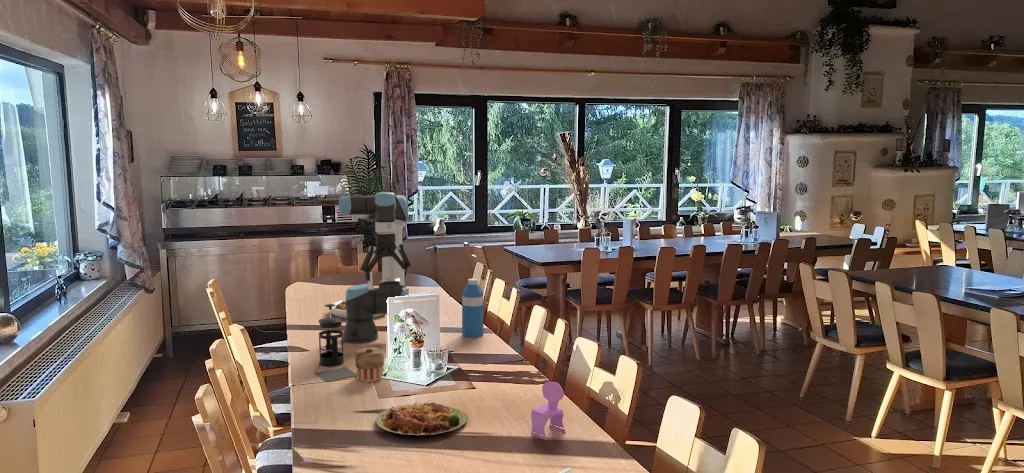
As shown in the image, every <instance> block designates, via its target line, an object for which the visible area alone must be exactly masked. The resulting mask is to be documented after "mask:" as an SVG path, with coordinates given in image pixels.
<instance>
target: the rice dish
mask: <svg viewBox="0 0 1024 473" xmlns="http://www.w3.org/2000/svg"><path fill="white" fill-rule="evenodd" d="M467 420H468V415H467V414H466V412H464V411H463V410H461V409H458V408H455V407H452V406H448V405H444V404H441V403H436V402H423V403H417V402H414V403H413V404H405V405H398V406H395V407H394V406H391V407H390V408H388V409H385V410H383V411H382V412H380V413H379V414H378V415H376V417H375V422H376V425H377V426H378V427H379V428H380V429H382V430H384V431H387V432H390V433H394V434H400V435H413V436H428V435H429V436H434V435H439V434H444V433H446V432H450V431H454V430H457V429H459V428H461V426H463V425H465V424H466V423H467Z"/></svg>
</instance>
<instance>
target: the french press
mask: <svg viewBox="0 0 1024 473" xmlns="http://www.w3.org/2000/svg"><path fill="white" fill-rule="evenodd" d="M334 306H336V305H335V304H331V303H328V304H327V303H326V304H325V305H324V307H326V308H328V309H329V317H325V318H321V319H318V323H319V327H320V328H322V329H326V330H322V331H319V332H318V350H319V354H318V355H319V362H318V364H319V365H320V366H322V367H324V368H325V367H327V368H328V367H330V368H331V367H332V368H333V367H339V366H342V365H343V364H344V363H345V360H344V340H343V331H344V330H343V331H342V330H340V329H335V328H340V327H342V324H343V319H344V318H340V317H332V312H331V310H332V307H334ZM333 334H334V335H333ZM340 338H341V344H340V343H338V339H340ZM321 339H323V340H325V341H326V343H325V344H323V345H321V342H322V341H321Z"/></svg>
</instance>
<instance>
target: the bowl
mask: <svg viewBox="0 0 1024 473" xmlns="http://www.w3.org/2000/svg"><path fill="white" fill-rule="evenodd" d="M345 299H346V298H345ZM345 299H341V300H336V301H334V302H331V303H330V304H335V305H336V306H334V307H332V310H331V315H333V316H335V317H336V318H341V319H346V300H345ZM385 315H386V314H383V315H374V319H375V318H379V317H382V316H385Z"/></svg>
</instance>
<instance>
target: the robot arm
mask: <svg viewBox="0 0 1024 473" xmlns="http://www.w3.org/2000/svg"><path fill="white" fill-rule="evenodd" d="M338 212H339V214H340V215H342V216H354V217H355V218H357V219H361V220H365V221H371V222H375V232H376V233H375V246H371V245H368V247H367V253H366V255H365V258H364V260H363V262H362V264H361V267H360V271H361V272H364V273H365V274H364V275H365V281H367V283H362V284H357V285H353V286H350V287H348V288H347V289H346V291H345V300H346V321H345V325H344V328H343V342H347V343H353V344H362V343H363V344H364V343H369V342H373V341H377V340H378V339H379V332H378V329H377V325H376V323H375V318H374V315H383V314H385V315H388V314H387V303H386V300H387V298H388V297H395V296H405V295H408V296H409V294H410V293H409V292H410V287H408V286H406V285H407V284H406V282H405V281H406V280H405V278H406V277H407V269H409V268H410V267H411V266H412V264H411V262H410V260H409V258H408V256H407V254H406V251H405V250H404V244H403V228H404V227H405V226H407V224H406V223H407V222H409V220H410V218H409V210H408V202H407V197H406V196H405V195H402V194H401V195H400V194H395V193H394V192H388V191H386V192H385V191H383V192H381V191H380V192H376V193H375V194H370V195H342V196H340V197H339V199H338ZM374 252H375V254H374ZM373 254H374V257H373ZM380 259H382V268H381V269H382V276H381V277H382V278H381V281H380V282H378V287H375V286H374V285H373V272H372V270H373V269H374V267H375V266H376V265H377V263H378V262H379V261H380ZM383 316H384V315H383Z"/></svg>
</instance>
